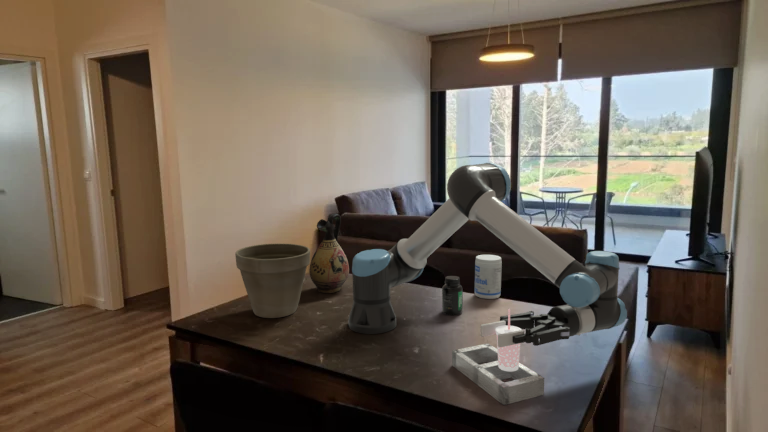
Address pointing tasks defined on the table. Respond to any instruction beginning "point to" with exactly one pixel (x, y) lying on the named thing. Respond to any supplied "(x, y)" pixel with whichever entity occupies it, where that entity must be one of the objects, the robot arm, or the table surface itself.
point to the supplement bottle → (452, 296)
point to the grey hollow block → (497, 374)
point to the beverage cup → (508, 349)
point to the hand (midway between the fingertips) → (490, 335)
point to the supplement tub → (488, 276)
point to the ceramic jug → (329, 259)
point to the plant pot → (273, 277)
